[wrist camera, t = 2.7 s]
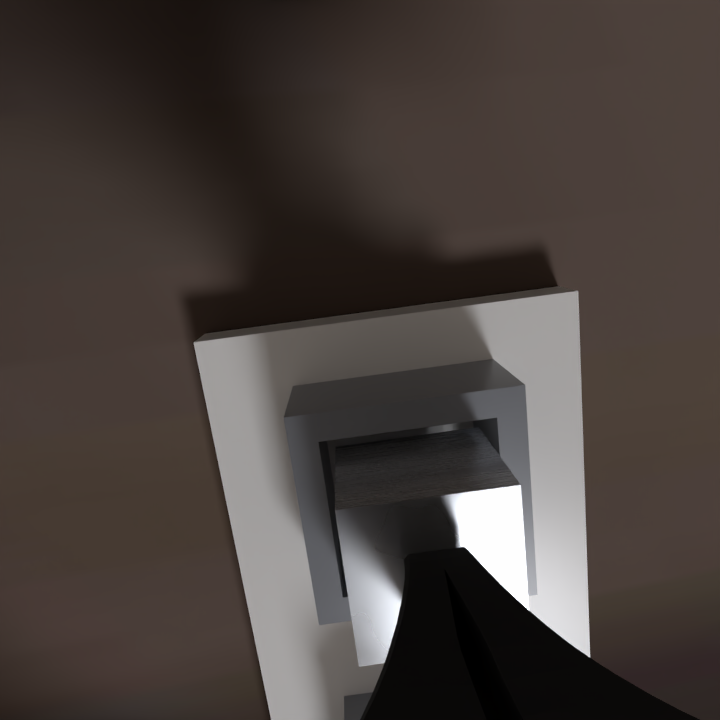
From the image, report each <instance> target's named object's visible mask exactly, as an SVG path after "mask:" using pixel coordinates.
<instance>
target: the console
mask: <svg viewBox="0 0 720 720" xmlns="http://www.w3.org/2000/svg"><path fill="white" fill-rule="evenodd" d="M193 343H194V347H195V352H196V357H197V362H198V367H199V372H200V377H201V381H202V386H203V391H204V396H205V401H206V406H207V411H208V415H209V420H210V425H211V430H212V435H213V440H214V445H215V449H216V454H217V459H218V464H219V469H220V474H221V479H222V483H223V488H224V493H225V498H226V503H227V508H228V513H229V517H230V522H231V527H232V532H233V537H234V542H235V547H236V551H237V556H238V561H239V566H240V571H241V576H242V581H243V585H244V590H245V595H246V600H247V605H248V610H249V615H250V619H251V624H252V629H253V634H254V639H255V644H256V649H257V653H258V658H259V663H260V668H261V673H262V678H263V683H264V687H265V692H266V697H267V702H268V707H269V712H270V717H271V720H360V719H361V717H362V715H363V712H364V710H365V708H366V706H367V704H368V702H369V700H370V698H371V695H372V693H373V691H374V688H375V686H376V684H377V681H378V679H379V676H380V674H381V671H382V668H383V666H384V663H382V664H375V665H368V666H361V667H359V664H358V658H357V651H356V645H355V638H354V632H353V625H352V619H351V612H350V606H349V599H348V593H347V586H346V580H345V573H344V567H343V560H342V554H341V547H340V541H339V534H338V528H337V521H336V515H335V447H336V446H343V445H351V444H358V443H365V442H373V441H380V440H387V439H395V438H402V437H409V436H417V435H424V434H431V433H439V432H446V431H453V430H461V429H468V428H475V427H479V428H480V430H481V431H482V432H483V434H484V435H485V436H486V438H487V439H488V440H489V442H490V443H491V445H492V446H493V447H494V449H495V450H496V451H497V453H498V454H499V456H500V457H501V458H502V460H503V461H504V462H505V464H506V465H507V466H508V468H509V469H510V471H511V472H512V473H513V475H514V476H515V477H516V479H517V480H518V481H519V483H520V484H521V494H522V510H523V526H524V542H525V558H526V573H527V589H528V605H529V611H530V612H532V613H533V614H534V615H535V616H536V617H537V618H538V619H540V620H541V621H542V622H543V623H545V624H546V625H547V626H548V627H549V628H551V629H552V630H553V631H554V632H556V633H557V634H558V635H559V636H561V637H562V638H563V639H565V640H566V641H567V642H568V643H570V644H571V645H573V646H574V647H575V648H577V649H578V650H580V651H581V652H583V653H584V654H585V655H587V656H588V657H590V640H589V609H588V578H587V547H586V516H585V486H584V455H583V424H582V393H581V362H580V332H579V301H578V291H577V290H572V289H568V288H564V287H560V286H557V287H550V288H542V289H535V290H527V291H520V292H512V293H505V294H497V295H490V296H482V297H475V298H467V299H460V300H452V301H445V302H437V303H430V304H422V305H415V306H408V307H400V308H393V309H385V310H378V311H370V312H363V313H355V314H348V315H340V316H333V317H325V318H318V319H310V320H303V321H295V322H288V323H280V324H273V325H265V326H258V327H251V328H243V329H236V330H228V331H221V332H213V333H206V334H204V335H203V336H201V337H200V338H199V339H197V340H196V341H195V342H193Z"/></svg>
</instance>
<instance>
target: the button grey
mask: <svg viewBox="0 0 720 720" xmlns="http://www.w3.org/2000/svg"><path fill="white" fill-rule="evenodd" d="M335 515H336V521H337V528H338V534H339V541H340V547H341V554H342V560H343V567H344V573H345V580H346V586H347V593H348V599H349V606H350V612H351V619H352V625H353V632H354V638H355V645H356V651H357V658H358V664H359V667H361V666H368V665H375V664H382V663H385V660H386V657H387V654H388V651H389V648H390V644H391V641H392V637H393V634H394V631H395V627H396V624H397V620H398V615H399V610H400V605H401V600H402V595H403V588H404V579H405V567H404V559H405V558H406V557H407V555H408V554H415V553H422V552H429V551H436V550H444V549H451V548H458V547H465V548H467V549H468V550H469V551H470V552H471V553H472V554H473V555H474V556H475V557H476V559H477V560H478V561H479V562H480V563H481V564H482V565H483V566H484V567H485V568H486V569H487V570H488V572H489V573H490V574H491V575H492V576H493V577H494V578H495V579H496V580H497V581H498V582H499V583H500V584H501V585H502V586H503V587H504V588H505V589H506V590H507V591H509V592H510V593H511V594H512V595H513V596H514V597H515V598H516V599H517V600H518V601H519V602H520V603H522V604H523V605H524V606H525V607H526V608H527V609H528V610H529V605H528V589H527V573H526V558H525V542H524V526H523V510H522V494H521V484H520V483H519V481H518V480H517V479H516V477H515V476H514V475H513V473H512V472H511V471H510V469H509V468H508V466H507V465H506V464H505V462H504V461H503V460H502V458H501V457H500V456H499V454H498V453H497V451H496V450H495V449H494V447H493V446H492V445H491V443H490V442H489V440H488V439H487V438H486V436H485V435H484V434H483V432H482V431H481V430H480V428H479V427H475V428H468V429H461V430H453V431H446V432H439V433H431V434H424V435H417V436H409V437H402V438H395V439H387V440H380V441H373V442H365V443H358V444H351V445H343V446H336V447H335Z"/></svg>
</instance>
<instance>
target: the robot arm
mask: <svg viewBox="0 0 720 720" xmlns="http://www.w3.org/2000/svg"><path fill="white" fill-rule="evenodd" d="M404 567H405V579H404V588H403V595H402V600H401V605H400V610H399V615H398V620H397V624H396V627H395V631H394V634H393V637H392V641H391V644H390V648H389V651H388V654H387V657H386V660H385V663H384V666H383V668H382V671H381V674H380V676H379V679H378V681H377V684H376V686H375V688H374V691H373V693H372V695H371V698H370V700H369V702H368V704H367V706H366V708H365V710H364V712H363V715H362V717H361V719H360V720H699V719H697V718H695V717H693V716H691V715H689V714H687V713H685V712H683V711H681V710H679V709H677V708H675V707H673V706H671V705H669V704H667V703H665V702H663V701H661V700H660V699H658V698H656V697H654V696H652V695H650V694H648V693H647V692H645V691H643V690H642V689H640V688H638V687H636V686H635V685H633V684H631V683H630V682H628V681H626V680H624V679H623V678H621V677H619V676H618V675H616V674H614V673H613V672H611V671H610V670H608V669H606V668H605V667H603V666H602V665H600V664H599V663H597V662H596V661H594V660H593V659H591V658H590V657H588V656H587V655H585V654H584V653H583V652H581V651H580V650H578V649H577V648H575V647H574V646H573V645H571V644H570V643H568V642H567V641H566V640H565V639H563V638H562V637H561V636H559V635H558V634H557V633H556V632H554V631H553V630H552V629H551V628H549V627H548V626H547V625H546V624H545V623H543V622H542V621H541V620H540V619H538V618H537V617H536V616H535V615H534V614H533V613H532V612H530V611H529V610H528V609H527V608H526V607H525V606H524V605H523V604H522V603H520V602H519V601H518V600H517V599H516V598H515V597H514V596H513V595H512V594H511V593H510V592H509V591H507V590H506V589H505V588H504V587H503V586H502V585H501V584H500V583H499V582H498V581H497V580H496V579H495V578H494V577H493V576H492V575H491V574H490V573H489V572H488V570H487V569H486V568H485V567H484V566H483V565H482V564H481V563H480V562H479V561H478V560H477V559H476V557H475V556H474V555H473V554H472V553H471V552H470V551H469V550H468V549H467V548H465V547H458V548H451V549H444V550H436V551H429V552H422V553H415V554H408V555H407V557H406V558H405V559H404Z"/></svg>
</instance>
